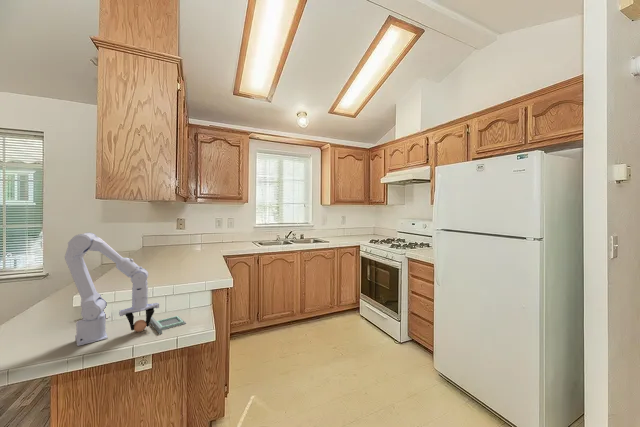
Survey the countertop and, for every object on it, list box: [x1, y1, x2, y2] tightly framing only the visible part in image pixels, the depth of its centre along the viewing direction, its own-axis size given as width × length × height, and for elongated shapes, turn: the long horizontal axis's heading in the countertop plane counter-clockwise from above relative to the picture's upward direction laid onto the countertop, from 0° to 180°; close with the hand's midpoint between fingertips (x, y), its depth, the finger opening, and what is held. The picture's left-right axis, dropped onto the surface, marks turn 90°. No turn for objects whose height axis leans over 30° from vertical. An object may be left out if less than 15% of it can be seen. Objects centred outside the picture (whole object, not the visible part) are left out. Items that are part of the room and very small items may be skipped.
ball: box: [133, 319, 147, 333], centre depth 118 cm, size 5×5×5 cm
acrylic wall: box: [149, 316, 163, 335], centre depth 123 cm, size 1×20×2 cm, turn 45°
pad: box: [156, 315, 187, 331], centre depth 127 cm, size 11×11×1 cm
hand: (139, 327), depth 118 cm, fingers closed on ball, 5 cm apart
